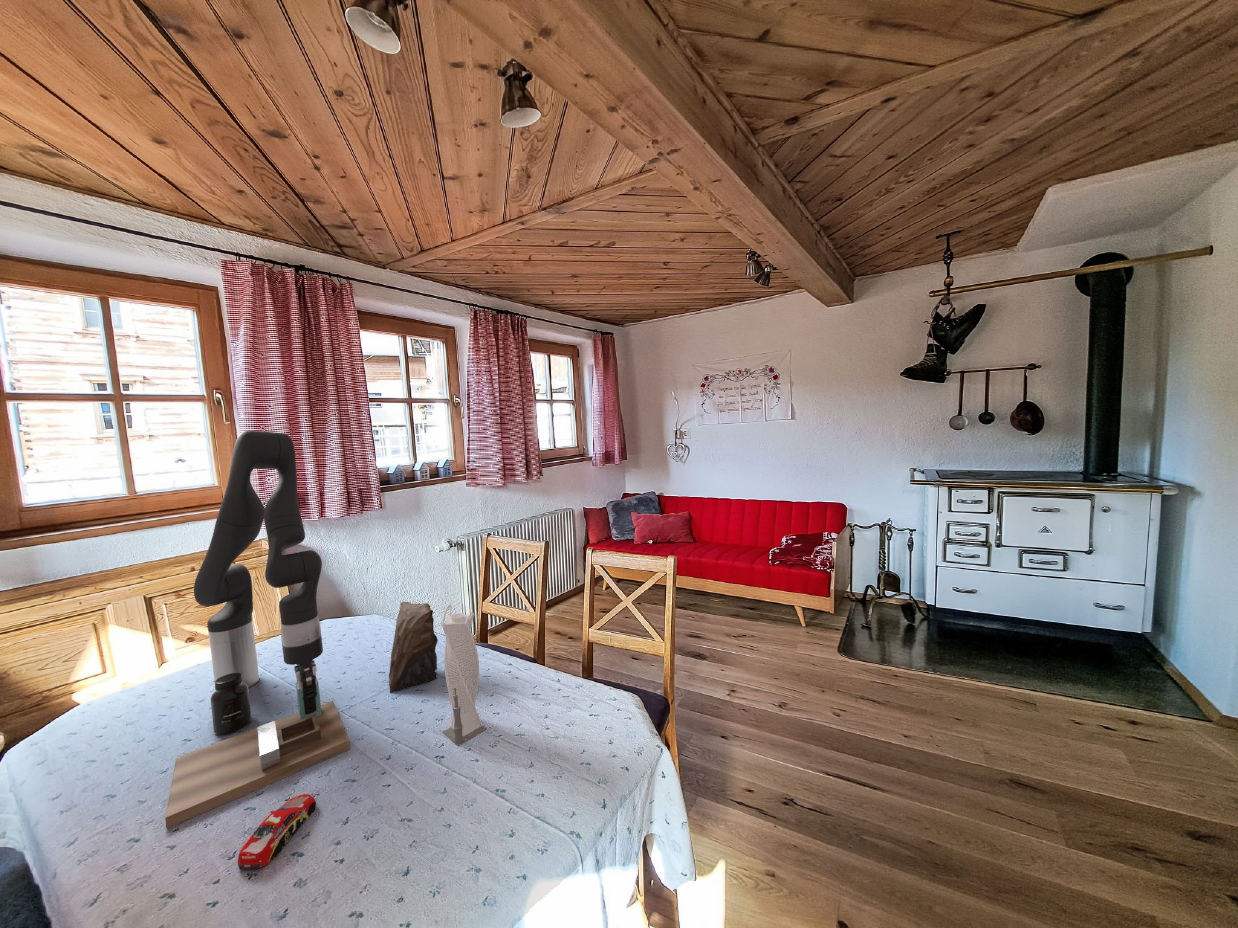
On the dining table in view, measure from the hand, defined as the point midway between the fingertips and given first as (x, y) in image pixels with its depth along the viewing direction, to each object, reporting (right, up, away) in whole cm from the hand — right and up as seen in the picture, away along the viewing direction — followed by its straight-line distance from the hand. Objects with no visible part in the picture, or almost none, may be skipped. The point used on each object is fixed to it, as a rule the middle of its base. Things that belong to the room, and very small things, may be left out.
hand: (309, 707), depth 107 cm
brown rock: (+16, -2, +17) cm, 24 cm away
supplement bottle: (-18, -5, 0) cm, 19 cm away
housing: (-2, -5, -11) cm, 12 cm away
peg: (0, -2, 0) cm, 2 cm away
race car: (+15, -6, -30) cm, 34 cm away
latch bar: (0, -3, -12) cm, 12 cm away
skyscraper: (+38, -3, -4) cm, 38 cm away
